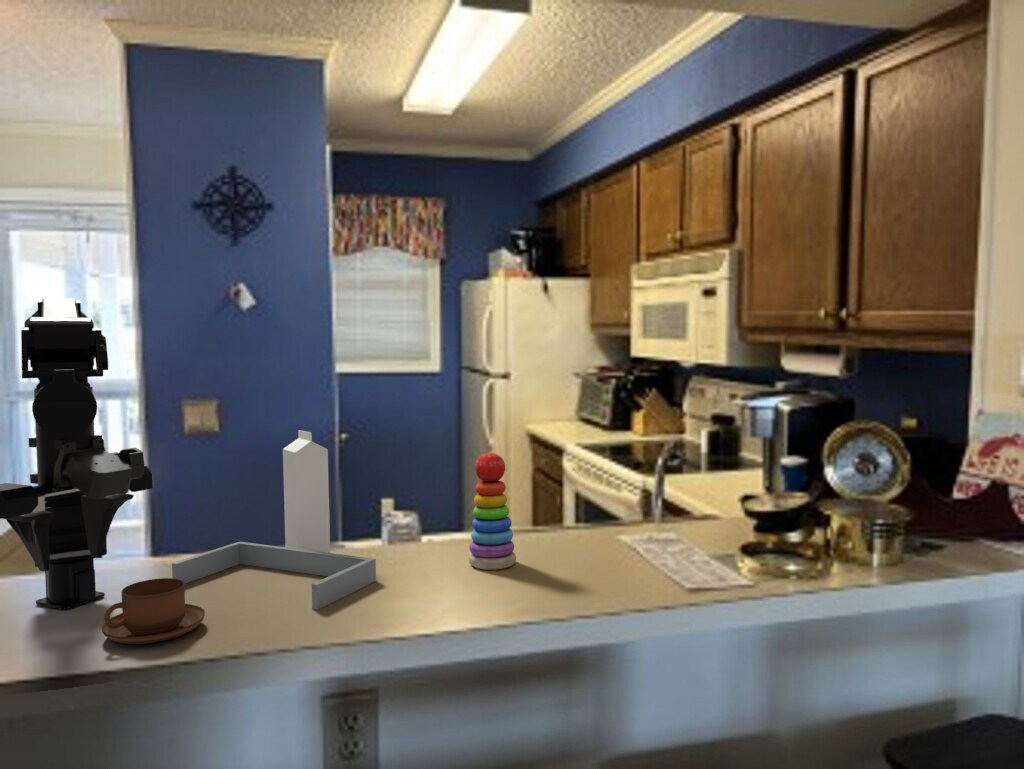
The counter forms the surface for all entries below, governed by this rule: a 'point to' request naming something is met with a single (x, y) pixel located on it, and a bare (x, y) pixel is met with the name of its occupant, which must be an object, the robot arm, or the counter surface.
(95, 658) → the counter surface
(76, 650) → the counter surface
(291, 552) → the u-shaped low fence
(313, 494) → the milk
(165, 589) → the cup and saucer
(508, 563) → the stacking toy
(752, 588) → the counter surface
